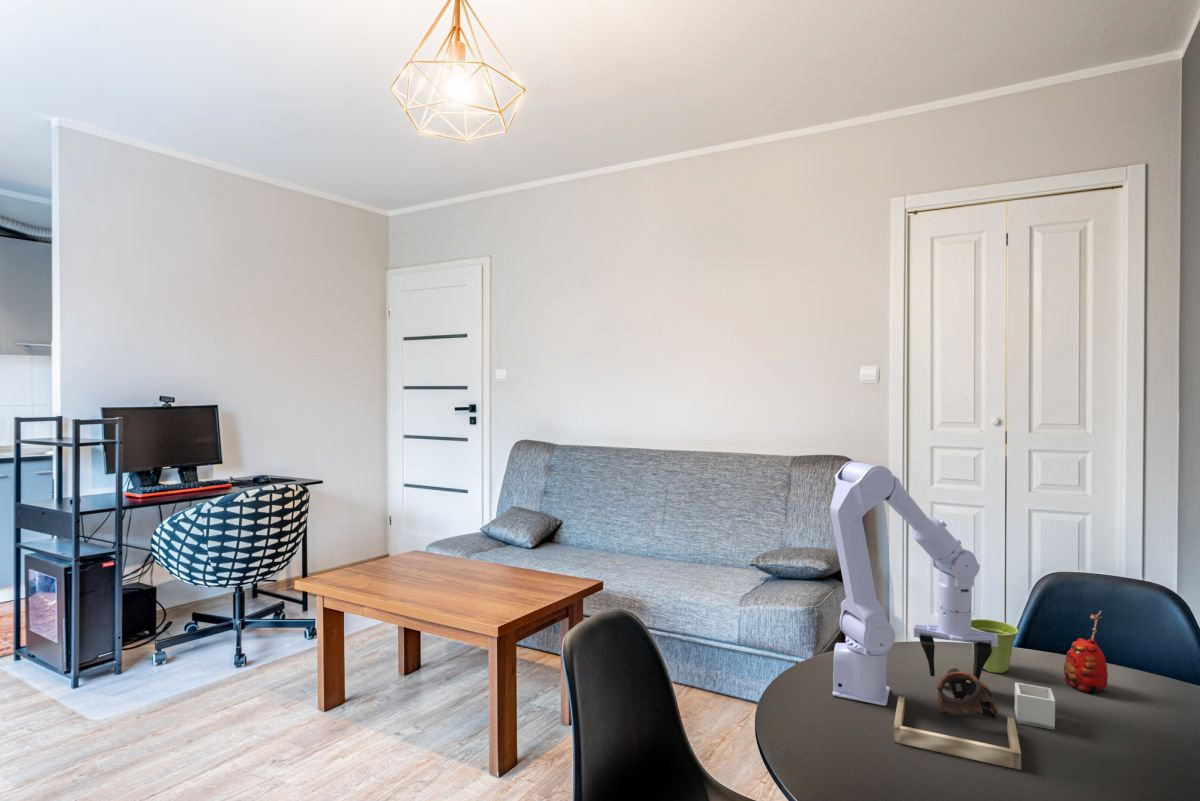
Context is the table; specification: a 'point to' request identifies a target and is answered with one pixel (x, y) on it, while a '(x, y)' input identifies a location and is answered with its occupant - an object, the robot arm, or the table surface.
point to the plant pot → (1005, 635)
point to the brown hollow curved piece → (964, 694)
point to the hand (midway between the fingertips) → (953, 677)
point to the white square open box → (1034, 706)
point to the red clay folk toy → (1086, 664)
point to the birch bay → (959, 742)
